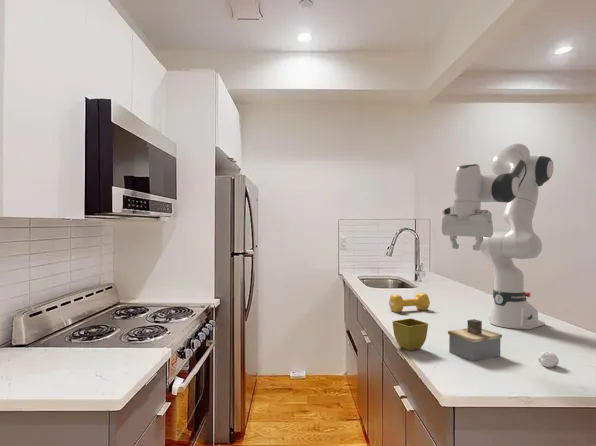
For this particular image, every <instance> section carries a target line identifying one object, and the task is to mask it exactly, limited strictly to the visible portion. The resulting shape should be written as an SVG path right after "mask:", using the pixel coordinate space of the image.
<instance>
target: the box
mask: <svg viewBox="0 0 596 446" xmlns="http://www.w3.org/2000/svg"><path fill="white" fill-rule="evenodd" d="M448 335H449V334H448ZM448 341H449V345H448V346H449V349H448V352H449V353H451V354H452V355H456V356H459V357H461V358H464V359H467V360H469V361H471V362H478V361H482V360H486V359H492V358H498V357H501V338H497V339H492V340H486V341H480V342H474V343H473V342H470V341H467V340H464V339H461V338H458V337H455V336H452V335H449V340H448Z"/></svg>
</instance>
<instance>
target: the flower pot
mask: <svg viewBox="0 0 596 446" xmlns="http://www.w3.org/2000/svg"><path fill="white" fill-rule="evenodd" d="M428 328H429V323H428V322H425V321H422V320H418V319H415V318H405V319H404V318H403V319H399V320H398V319H397V320H392V329H393V336H394V339H395V341H396V344H398V346H399V348H402V349H404V350H407V351H409V352H410V351H414V350H419V349H422V347H423V346H424V344H425V342H426V340H427V336H428Z"/></svg>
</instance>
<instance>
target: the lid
mask: <svg viewBox="0 0 596 446" xmlns="http://www.w3.org/2000/svg"><path fill="white" fill-rule="evenodd" d="M482 321H483V320H478V319H475V318H474V319H468V320H467V328H460V329H452V330H448V331H447V334H448V335H452V336H455V337H458V338H461V339H464V340H467V341H470V342H473V343H474V342H480V341H486V340H492V339H497V338H500V339H502V338H503V334H501V333H497V332H494V331H491V330H488V329H484V328H482V327H483V324H482V323H483V322H482Z"/></svg>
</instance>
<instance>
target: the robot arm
mask: <svg viewBox="0 0 596 446" xmlns="http://www.w3.org/2000/svg"><path fill="white" fill-rule="evenodd" d="M490 165H491V171H492V173H493V174H488V175H483V174H481V167H480V165H479V164H477V163H473V164H464V165H463V164H462V165H459V166H457V168H456V170H455V174H454V180H453V181H454V183H453V191H454V198H453V204H452V205H449V206H448V207H446V208H443V210H442V215H443V217H442V220H441V234H442V235H443V236H447V237H448V236H449V240H450V243H451V248H452V249H453V250H458V249H459V247H460V244H459V243H458V242H457V239H458V237H471V238H473V237H474V238H475V244H473V245H472V250H473V251H479V252H480V251H481V253H482V254H484V256H486V257H487V259H488V260H489V262H490V265H491V267H492V270H493V271H492V272H493V281H494V283H493V284H494V285H493V288H494V289H493V290H492V298H493V301H492V303H491V309H490V310H491V311H490V317H488V321H489V323H490V325H493V326H497V327H501V328H507V329H508V328H509V329H520V330H531V329H535V328H538V327H542V326H544V325H545V324H546V323H545V321H543V320H540V319H539V312H538V309H537V308H535V306H534V305H532V304H530V302H529V301H527V298H531V295H532V293H531V292H529V291H524V290H525V289H524V285H525V284H524V282H525V280H524V278H525V276H524V272H523V271H522V270H521V269H520V268H518V267H517V266H516V265H515V264H514V262H513V259H516V260H517V259H519V260H529V259H534V258H535V259H536V258H537V257H538V256H539V255H540V254H541V252H542V249H543V242H542V240H541V238H540V237H539V236H538V235H537V234H536V233H535V230H534V228H533V219H534V215H535V211H536V207H537V203H538V199H539V187H542V186H543V185H544V183H545V184H546V183H547V182H548V181H549V180H550V179H551V178H552V176H553V173H554V162H553V160H552V159H551V157H548V156H544V155H541V156H537V155H531V152H530V149H529V148H528V146H526V145H525V144H522V143H513V144H511V145H508V146H506V147H504V148H502V149H501V150H500V151H499V152H498V153H497V154H495V156H494V157H493V159H492V160H491V164H490ZM481 203H506V205H505V209H504V211H503V214H502V215H503V220H504V221H505V222H506V224H508V225H510V230H509V231H494V226H493V219H492V216H493V215H492V212H491V211H489V210H488V209H481V208H482V207H481Z"/></svg>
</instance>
